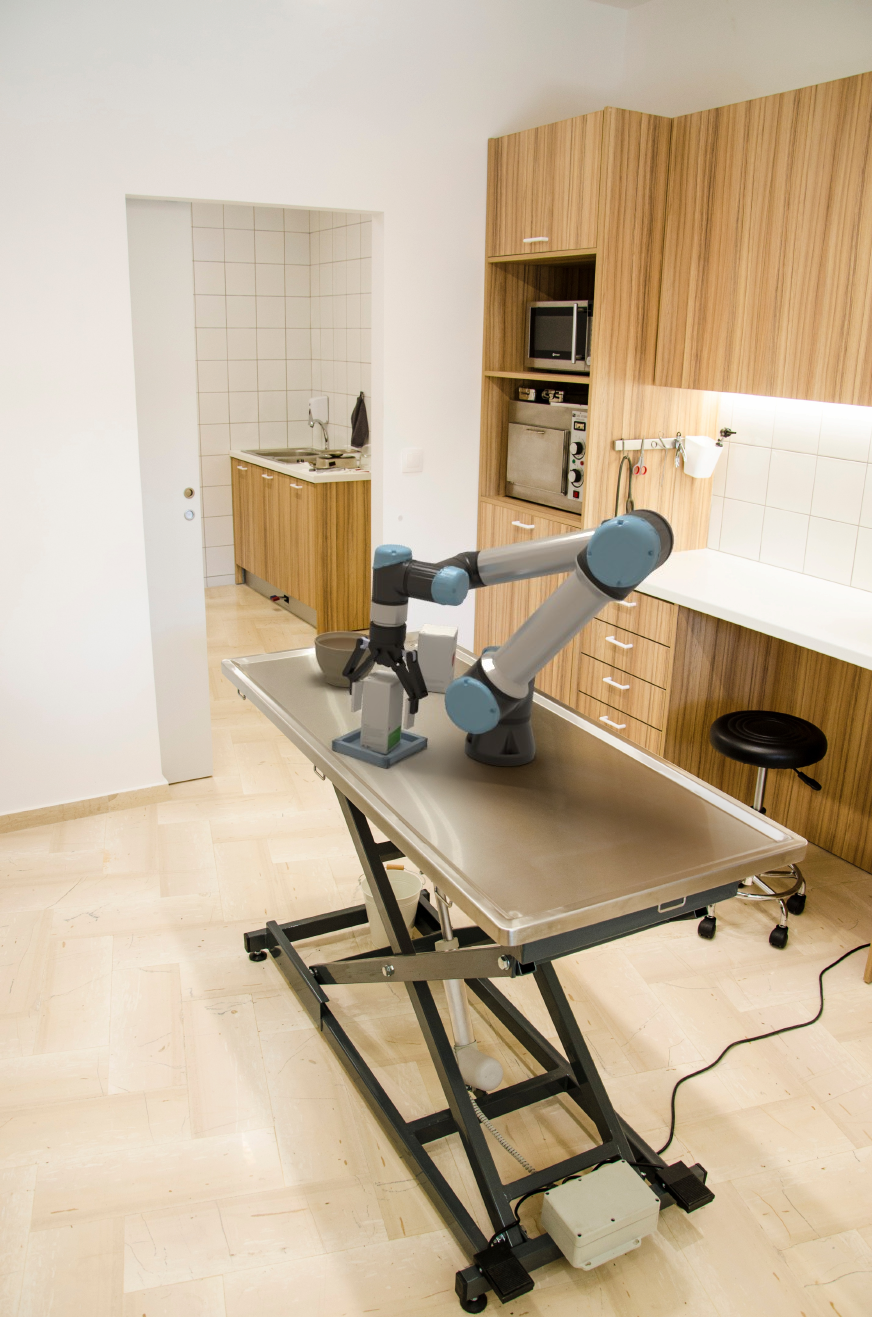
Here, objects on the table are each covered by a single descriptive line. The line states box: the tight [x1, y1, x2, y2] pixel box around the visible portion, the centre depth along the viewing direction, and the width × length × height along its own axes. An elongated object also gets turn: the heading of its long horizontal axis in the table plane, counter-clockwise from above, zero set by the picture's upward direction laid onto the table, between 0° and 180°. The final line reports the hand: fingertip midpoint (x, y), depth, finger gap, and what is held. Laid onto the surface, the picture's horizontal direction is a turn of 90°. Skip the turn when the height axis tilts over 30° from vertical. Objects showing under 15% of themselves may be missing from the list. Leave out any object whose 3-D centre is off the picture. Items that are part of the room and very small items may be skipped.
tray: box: [331, 727, 429, 770], centre depth 208 cm, size 14×15×2 cm
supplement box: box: [416, 623, 459, 694], centre depth 246 cm, size 9×9×15 cm
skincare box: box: [360, 669, 405, 754], centre depth 206 cm, size 8×7×16 cm
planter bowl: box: [313, 630, 376, 688], centre depth 245 cm, size 16×16×11 cm
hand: (381, 719), depth 206 cm, fingers open, 13 cm apart
